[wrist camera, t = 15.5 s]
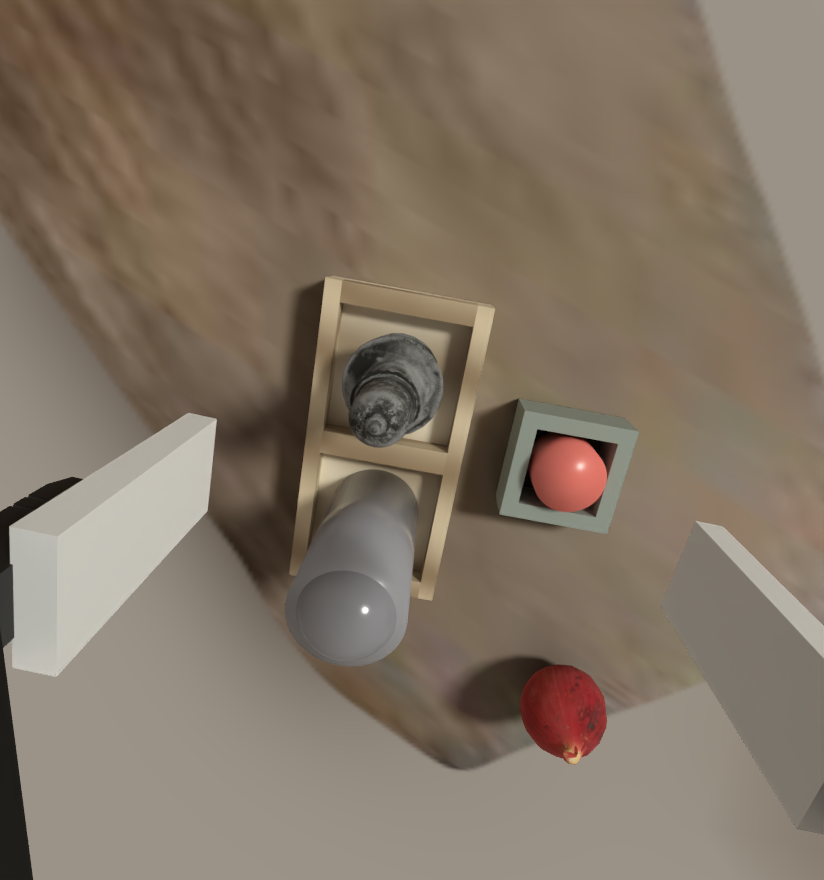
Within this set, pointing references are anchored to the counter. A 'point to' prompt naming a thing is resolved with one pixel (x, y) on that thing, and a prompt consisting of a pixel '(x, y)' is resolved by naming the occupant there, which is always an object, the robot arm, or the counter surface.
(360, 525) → the pepper pot
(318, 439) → the tray
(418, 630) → the counter surface
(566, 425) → the grey-green square box
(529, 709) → the onion
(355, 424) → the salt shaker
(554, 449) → the button
